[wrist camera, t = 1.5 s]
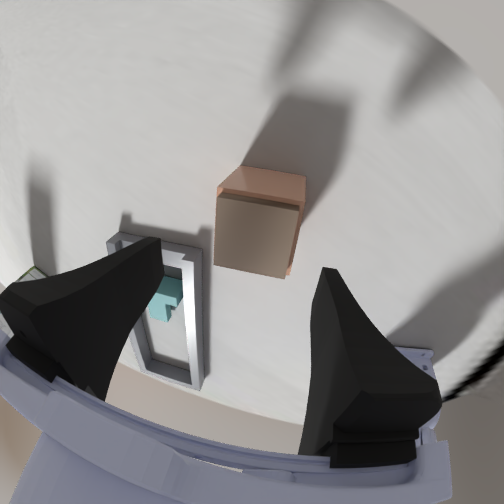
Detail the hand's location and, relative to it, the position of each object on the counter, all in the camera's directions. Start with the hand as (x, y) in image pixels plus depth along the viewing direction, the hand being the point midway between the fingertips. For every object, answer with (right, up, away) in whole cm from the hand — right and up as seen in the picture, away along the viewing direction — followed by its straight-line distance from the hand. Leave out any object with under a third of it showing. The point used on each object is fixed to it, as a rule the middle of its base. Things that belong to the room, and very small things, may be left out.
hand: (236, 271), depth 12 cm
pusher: (-8, -3, +14) cm, 16 cm away
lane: (-9, -7, +16) cm, 19 cm away
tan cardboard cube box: (+2, +4, +7) cm, 9 cm away
